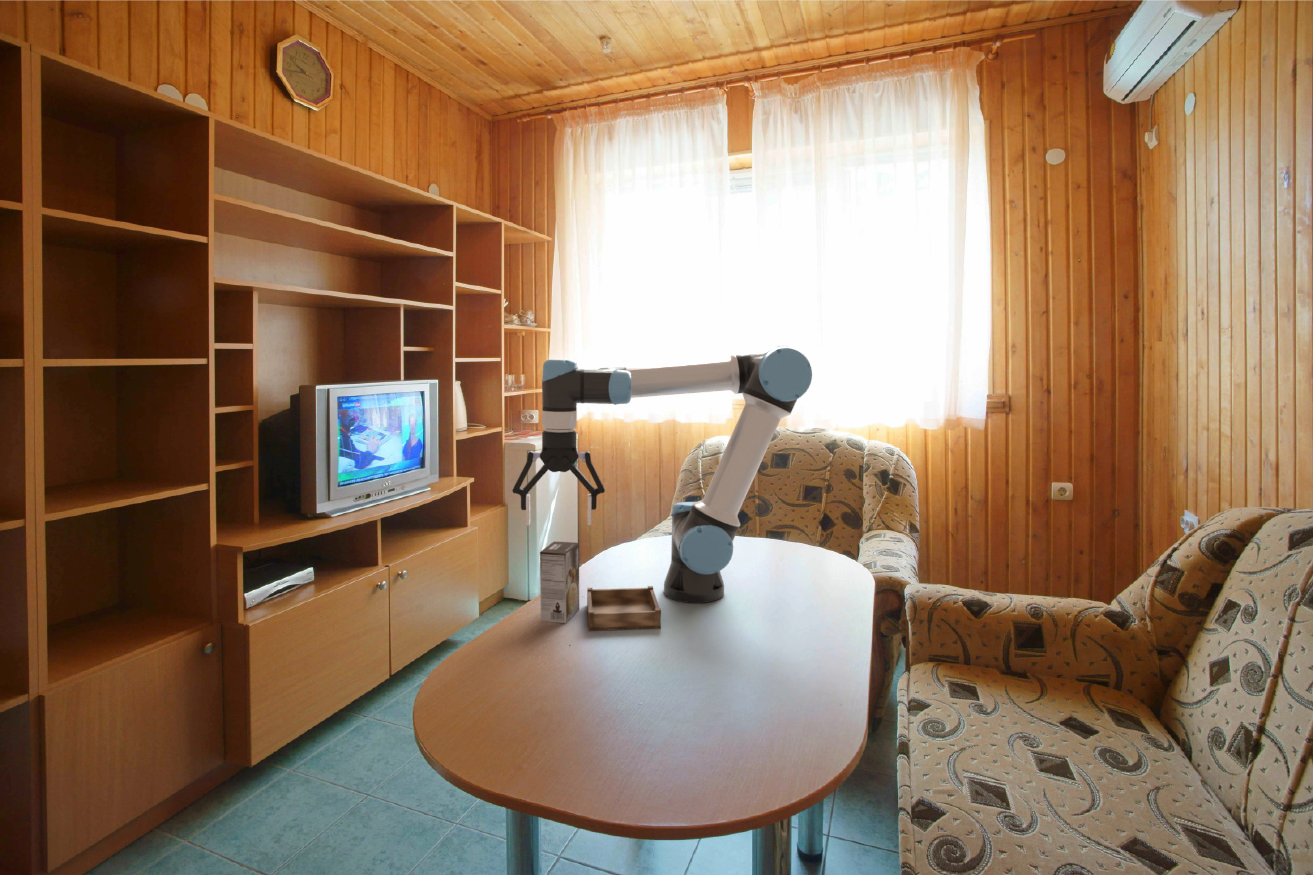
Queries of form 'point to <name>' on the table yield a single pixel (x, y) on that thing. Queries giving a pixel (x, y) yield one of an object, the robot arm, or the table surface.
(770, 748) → the table surface
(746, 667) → the table surface
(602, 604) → the crate
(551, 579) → the coffee box
